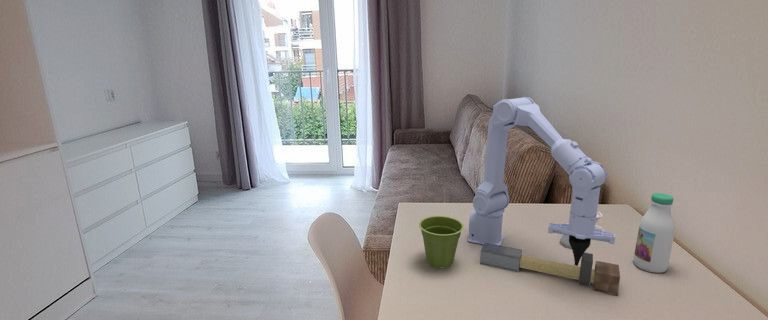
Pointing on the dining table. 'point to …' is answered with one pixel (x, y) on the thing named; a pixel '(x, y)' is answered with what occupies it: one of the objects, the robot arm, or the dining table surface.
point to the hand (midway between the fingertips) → (576, 263)
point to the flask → (565, 241)
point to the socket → (606, 278)
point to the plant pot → (440, 239)
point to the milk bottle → (655, 235)
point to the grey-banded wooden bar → (563, 268)
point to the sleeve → (500, 257)
